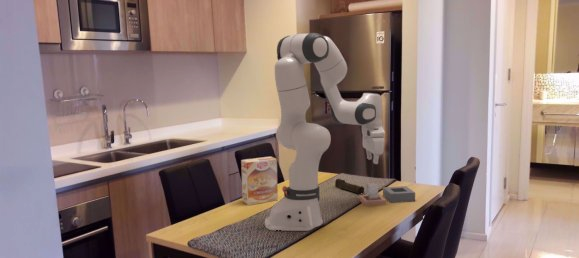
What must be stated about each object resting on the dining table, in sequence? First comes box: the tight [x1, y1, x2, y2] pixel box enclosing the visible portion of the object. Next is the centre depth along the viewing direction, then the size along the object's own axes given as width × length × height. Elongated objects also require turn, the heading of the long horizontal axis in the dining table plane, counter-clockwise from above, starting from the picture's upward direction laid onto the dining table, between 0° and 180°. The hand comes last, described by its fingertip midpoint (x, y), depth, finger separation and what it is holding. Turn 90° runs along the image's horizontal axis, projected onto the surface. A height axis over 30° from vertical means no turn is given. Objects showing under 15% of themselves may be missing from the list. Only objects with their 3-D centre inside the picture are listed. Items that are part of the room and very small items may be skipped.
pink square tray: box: [358, 193, 387, 207], centre depth 193 cm, size 10×10×2 cm
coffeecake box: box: [240, 155, 279, 206], centre depth 199 cm, size 15×7×20 cm, turn 118°
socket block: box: [382, 185, 416, 204], centre depth 197 cm, size 11×11×4 cm
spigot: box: [366, 182, 379, 200], centre depth 193 cm, size 4×4×8 cm
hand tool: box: [334, 178, 365, 195], centre depth 213 cm, size 19×4×5 cm, turn 32°
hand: (372, 161), depth 191 cm, fingers open, 8 cm apart
